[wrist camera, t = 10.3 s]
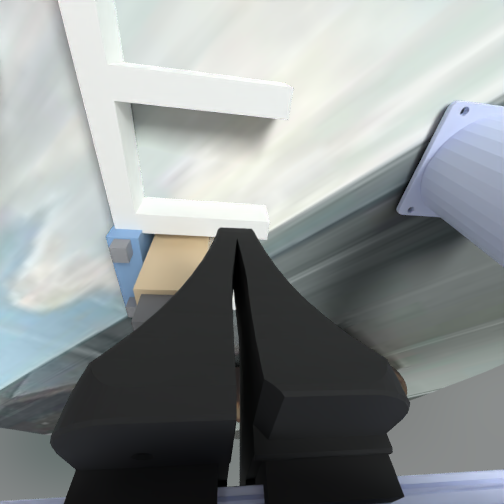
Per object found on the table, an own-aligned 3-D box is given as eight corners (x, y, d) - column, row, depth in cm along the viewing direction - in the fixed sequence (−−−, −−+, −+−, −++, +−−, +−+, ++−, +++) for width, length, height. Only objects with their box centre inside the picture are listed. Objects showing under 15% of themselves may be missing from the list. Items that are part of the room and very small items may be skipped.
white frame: (323, -155, 10) (373, -263, 7) (252, 290, 26) (256, 328, 22) (27, -229, 9) (-104, -409, 5) (139, 287, 24) (124, 327, 21)
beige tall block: (209, 227, 21) (199, 318, 14) (209, 265, 23) (200, 358, 16) (158, 224, 20) (121, 317, 13) (163, 263, 23) (134, 358, 16)
